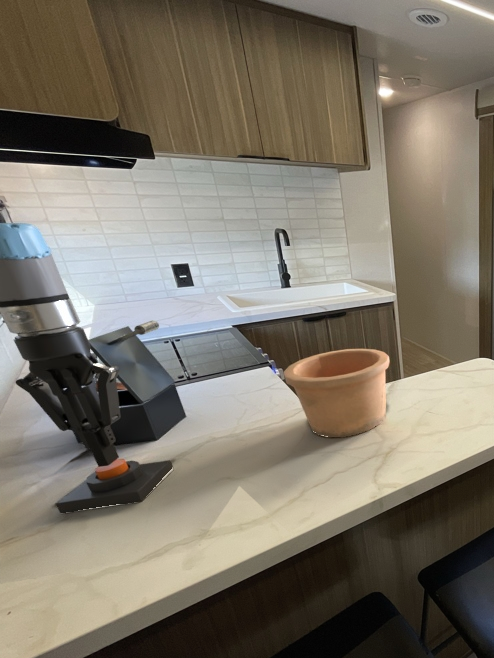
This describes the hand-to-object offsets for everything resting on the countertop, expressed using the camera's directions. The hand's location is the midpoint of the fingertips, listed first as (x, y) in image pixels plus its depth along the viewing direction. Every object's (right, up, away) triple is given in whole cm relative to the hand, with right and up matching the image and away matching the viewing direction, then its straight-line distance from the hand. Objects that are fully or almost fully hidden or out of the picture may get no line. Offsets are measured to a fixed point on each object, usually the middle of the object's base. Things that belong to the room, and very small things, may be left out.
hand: (109, 461), depth 70 cm
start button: (0, -2, +1) cm, 2 cm away
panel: (0, -6, +2) cm, 6 cm away
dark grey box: (-17, +2, +24) cm, 29 cm away
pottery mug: (-39, +7, +40) cm, 56 cm away
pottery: (+33, +4, +24) cm, 41 cm away
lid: (-13, +18, +19) cm, 29 cm away
